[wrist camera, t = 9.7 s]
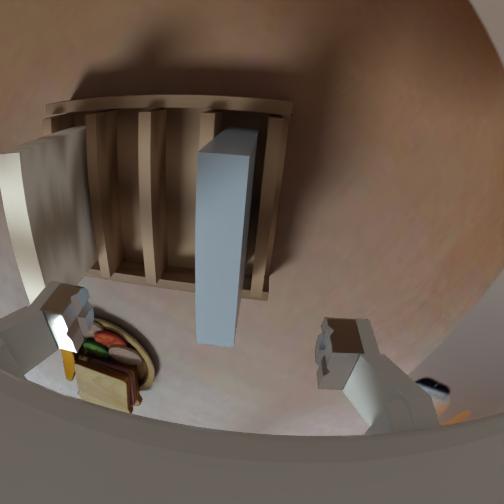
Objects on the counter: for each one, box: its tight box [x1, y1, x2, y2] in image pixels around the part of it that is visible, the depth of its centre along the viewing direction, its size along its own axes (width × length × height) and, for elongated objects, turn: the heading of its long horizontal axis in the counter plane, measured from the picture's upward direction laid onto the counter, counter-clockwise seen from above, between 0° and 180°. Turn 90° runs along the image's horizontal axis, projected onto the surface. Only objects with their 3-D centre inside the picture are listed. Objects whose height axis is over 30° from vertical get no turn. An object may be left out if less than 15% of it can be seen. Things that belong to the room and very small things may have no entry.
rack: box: [0, 94, 293, 304], centre depth 19 cm, size 14×17×10 cm
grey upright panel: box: [195, 126, 259, 348], centre depth 18 cm, size 10×2×9 cm, turn 175°
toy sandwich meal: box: [61, 318, 155, 413], centre depth 32 cm, size 12×14×5 cm
